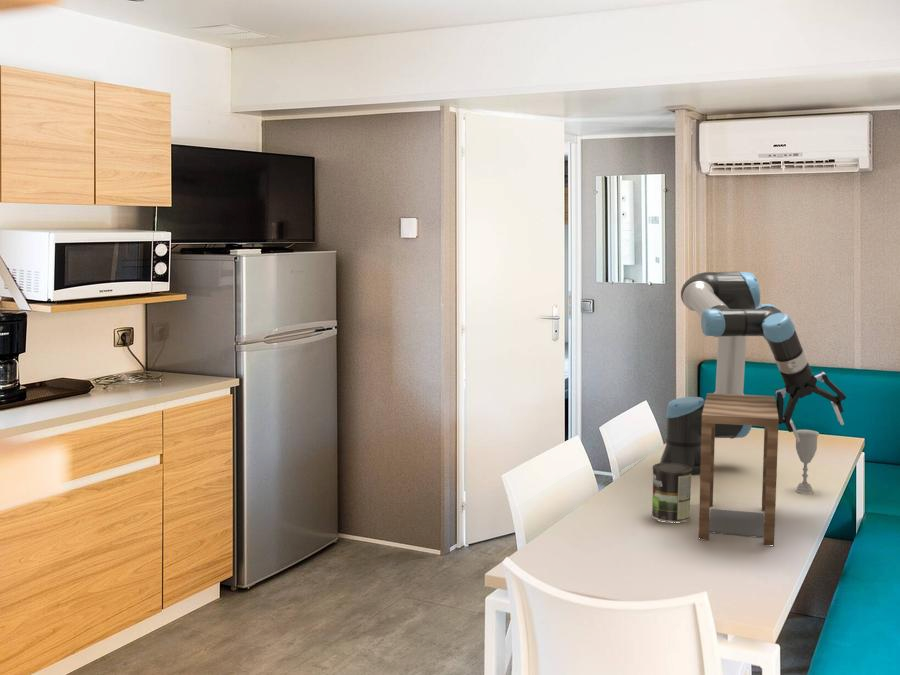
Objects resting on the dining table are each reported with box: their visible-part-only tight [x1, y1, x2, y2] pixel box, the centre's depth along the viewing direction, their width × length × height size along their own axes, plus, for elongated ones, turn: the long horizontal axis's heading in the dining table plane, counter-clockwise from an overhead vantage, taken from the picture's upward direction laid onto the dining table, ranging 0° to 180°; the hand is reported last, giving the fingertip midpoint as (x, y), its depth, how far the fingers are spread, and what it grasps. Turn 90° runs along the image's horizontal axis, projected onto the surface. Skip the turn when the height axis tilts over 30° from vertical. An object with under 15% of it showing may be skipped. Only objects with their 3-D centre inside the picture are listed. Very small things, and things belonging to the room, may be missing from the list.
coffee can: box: [651, 462, 692, 524], centre depth 246 cm, size 10×10×14 cm
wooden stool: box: [698, 392, 779, 547], centre depth 240 cm, size 32×18×32 cm, turn 162°
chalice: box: [795, 429, 820, 495], centre depth 270 cm, size 7×7×18 cm
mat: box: [709, 508, 765, 538], centre depth 242 cm, size 20×14×1 cm
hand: (819, 430), depth 250 cm, fingers open, 11 cm apart
